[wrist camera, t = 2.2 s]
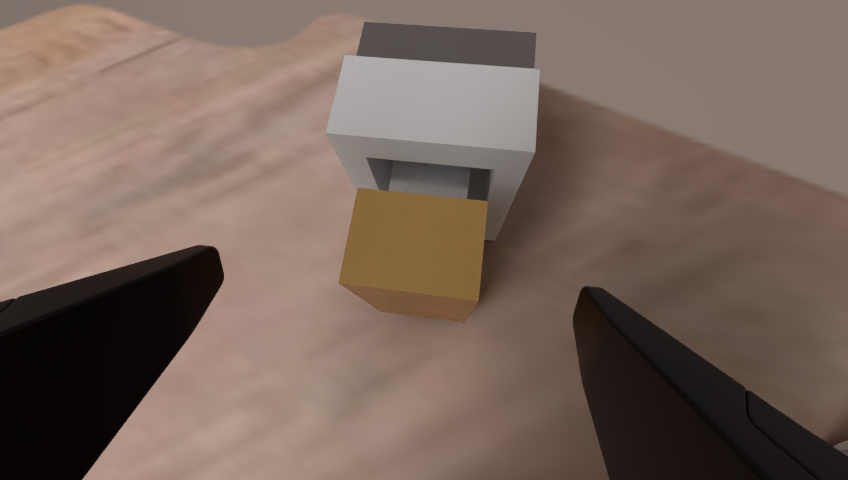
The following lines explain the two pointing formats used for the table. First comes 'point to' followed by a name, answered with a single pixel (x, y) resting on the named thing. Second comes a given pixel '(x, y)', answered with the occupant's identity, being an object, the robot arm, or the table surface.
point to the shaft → (417, 243)
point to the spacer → (448, 45)
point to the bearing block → (437, 124)
